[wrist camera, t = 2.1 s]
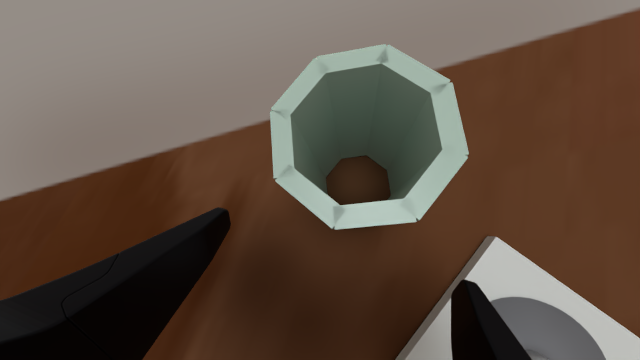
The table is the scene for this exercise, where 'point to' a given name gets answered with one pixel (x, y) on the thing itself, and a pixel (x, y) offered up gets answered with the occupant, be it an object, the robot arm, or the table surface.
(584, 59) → the table surface
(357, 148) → the sleeve
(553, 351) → the post board
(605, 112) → the table surface
